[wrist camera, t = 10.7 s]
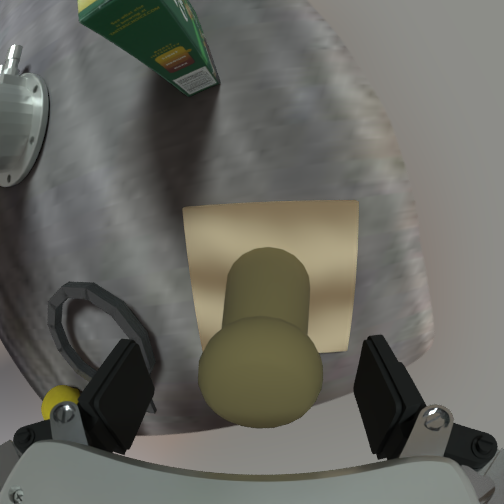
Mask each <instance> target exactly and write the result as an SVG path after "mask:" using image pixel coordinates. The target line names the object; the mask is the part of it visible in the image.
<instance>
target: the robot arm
mask: <svg viewBox="0 0 504 504" xmlns="http://www.w3.org/2000/svg"><path fill="white" fill-rule="evenodd" d="M22 48H23V47H22V46H21V45H14V46H11V47H10V48H9V49H8V52H7V56H6V60H5V65H1V66H0V186H2V187H9V186H13V185H17V184H18V183H20V182H21V181H22V180H23V179H24V178H25V177H26V176H27V175H28V173H29V171H30V170H31V168H32V167H33V165H34V163H35V161H36V158H37V156H38V154H39V151H40V148H41V146H42V142H43V139H44V135H45V130H46V125H47V119H48V110H49V99H48V91H47V87H46V84H45V82H44V81H43V79H42V78H41V77H40V76H38V75H36V74H32V73H24V74H21V75H19V73H20V70H19V69H17V68H18V63H19V61H20V57H21V52H22ZM153 395H154V385H153V383H152V380H151V378H150V375H149V372H148V369H147V367H146V364H145V361H144V358H143V355H142V352H141V349H140V346H139V344H137V343H136V342H135V341H134V340H130V339H121V340H120V341H119V342H118V344H117V345H116V346H115V348H114V349H113V350H112V352H111V353H110V354H109V356H108V357H107V358H106V360H105V361H104V362H103V364H102V365H101V367H100V368H99V369H98V371H97V372H96V374H95V375H94V376H93V378H92V379H91V381H90V382H89V383H88V385H87V386H86V388H85V389H84V390H83V392H82V393H81V395H80V396H79V398H78V399H77V400H78V401H79V402H78V403H77V405H76V404H75V403H73V402H71V401H64V402H60V403H58V404H57V405H55V406H54V407H53V408H52V410H51V412H50V419H47V420H44V421H41V422H38V423H34V424H31V425H27V426H24V427H22V428H20V429H18V430H17V431H16V433H15V435H14V439H13V442H12V441H11V440H9V441H7V442H5V443H4V444H2V445H0V504H504V449H501V450H498V449H497V442H496V440H495V438H494V437H493V436H492V435H490V434H488V433H485V432H481V431H478V430H475V429H471V428H468V427H465V426H461V425H458V424H455V423H453V420H454V418H453V415H452V413H451V412H450V410H449V409H447V408H446V407H444V406H442V405H436V404H435V405H430V406H426V404H425V402H424V400H423V399H422V397H421V395H420V393H419V391H418V389H417V388H416V386H415V384H414V382H413V380H412V379H411V377H410V375H409V373H408V372H407V370H406V368H405V366H404V365H403V364H402V363H401V362H398V360H397V358H396V357H395V355H394V353H393V352H392V350H391V348H390V347H389V345H388V343H387V341H386V340H385V338H384V336H383V335H373V336H368V338H367V340H364V341H363V346H362V351H361V356H360V360H359V365H358V370H357V374H356V378H355V383H354V395H355V398H356V401H357V404H358V407H359V411H360V413H361V417H362V420H363V424H364V427H365V430H366V434H367V437H368V441H369V444H370V448H371V451H372V453H373V454H376V455H377V458H378V460H379V459H383V458H387V461H382V462H376V463H371V464H366V465H361V466H356V467H350V468H343V469H336V470H329V471H321V472H312V473H300V474H282V475H242V474H241V475H240V474H224V473H212V472H203V471H194V470H187V469H181V468H174V467H168V466H163V465H158V464H154V463H149V462H145V461H140V460H136V459H132V458H129V457H125V456H121V455H118V454H114V453H113V452H116V453H119V454H123V455H125V452H126V450H127V449H130V447H131V445H132V443H133V441H134V438H135V436H136V434H137V431H138V429H139V427H140V424H141V422H142V420H143V418H144V415H145V413H146V411H147V409H148V406H149V404H150V402H151V400H152V397H153Z"/></svg>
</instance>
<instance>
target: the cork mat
mask: <svg viewBox="0 0 504 504" xmlns="http://www.w3.org/2000/svg"><path fill="white" fill-rule="evenodd" d="M182 210H183V220H184V230H185V238H186V247H187V255H188V263H189V270H190V278H191V285H192V291H193V298H194V304H195V311H196V317H197V323H198V328H199V334H200V340H201V345H202V350H203V351H204V349H205V347H206V345H207V344H208V342H209V340H210V339H211V338H212V337H213V336H214V335H215V334H216V333H217V332H218V331H220V330H221V329H222V319H223V310H224V300H225V291H226V283H227V275H228V273H229V271H230V269H231V267H232V265H233V263H234V262H235V261H236V260H237V259H238V258H239V257H240V256H242V255H243V254H245V253H247V252H249V251H251V250H253V249H256V248H264V247H273V248H278V249H283V250H285V251H287V252H289V253H291V254H293V255H294V256H295V257H296V258H297V259H298V260H299V261H300V262H301V263H302V264H303V265H304V267H305V269H306V271H307V273H308V275H309V281H310V303H309V321H308V336H309V337H310V339H311V340H312V342H313V343H314V345H315V347H316V349H317V351H318V353H325V352H339V351H347V349H348V342H349V335H350V327H351V320H352V311H353V302H354V291H355V280H356V266H357V248H358V216H359V201H356V200H313V201H276V202H252V203H233V204H217V205H203V206H189V207H184V208H182Z"/></svg>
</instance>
